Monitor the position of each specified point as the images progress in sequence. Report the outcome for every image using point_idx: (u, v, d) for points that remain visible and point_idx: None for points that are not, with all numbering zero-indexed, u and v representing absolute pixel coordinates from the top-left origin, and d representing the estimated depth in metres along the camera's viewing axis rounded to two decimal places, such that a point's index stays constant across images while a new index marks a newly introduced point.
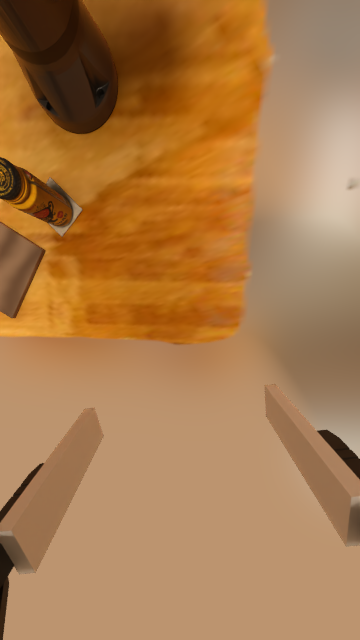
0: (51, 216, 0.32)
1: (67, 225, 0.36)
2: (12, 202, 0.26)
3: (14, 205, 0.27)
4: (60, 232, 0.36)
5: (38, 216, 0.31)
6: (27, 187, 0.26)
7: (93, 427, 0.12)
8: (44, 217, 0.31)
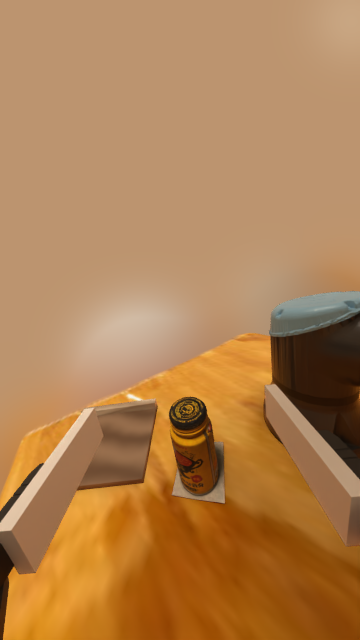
0: (186, 470, 0.23)
1: (190, 492, 0.24)
2: (173, 428, 0.23)
3: (171, 430, 0.24)
4: (176, 489, 0.25)
5: (177, 456, 0.23)
6: (197, 433, 0.21)
7: (93, 427, 0.12)
8: (180, 463, 0.23)
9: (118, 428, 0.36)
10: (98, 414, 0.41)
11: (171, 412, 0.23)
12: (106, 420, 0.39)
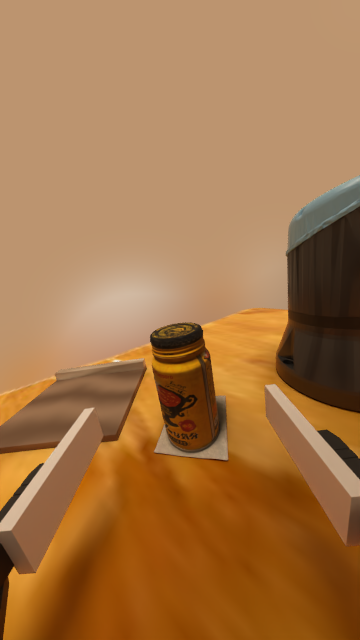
0: (173, 414, 0.16)
1: (180, 449, 0.17)
2: (154, 353, 0.16)
3: (153, 360, 0.17)
4: (160, 446, 0.18)
5: (160, 396, 0.17)
6: (188, 354, 0.15)
7: (93, 427, 0.12)
8: (164, 405, 0.16)
9: (96, 387, 0.29)
10: (75, 376, 0.34)
11: (153, 334, 0.17)
12: (83, 381, 0.32)
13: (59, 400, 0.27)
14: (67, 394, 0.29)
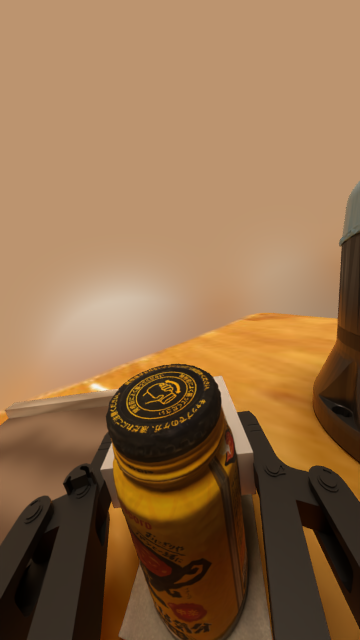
0: (157, 585, 0.07)
1: (172, 633, 0.08)
2: (114, 449, 0.07)
3: None
4: (134, 611, 0.09)
5: None
6: (190, 471, 0.06)
7: None
8: (138, 555, 0.08)
9: (54, 437, 0.20)
10: (33, 412, 0.25)
11: (115, 399, 0.08)
12: (41, 422, 0.23)
13: None
14: (10, 450, 0.20)
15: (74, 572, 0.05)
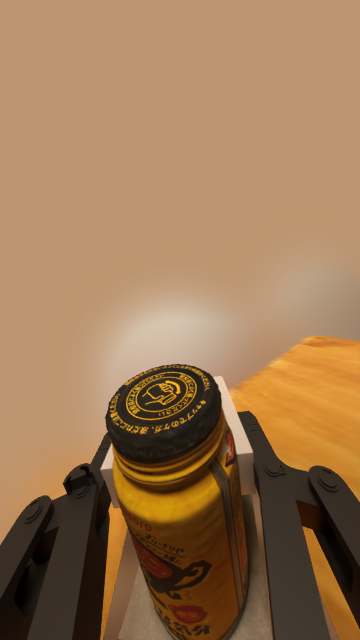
0: (157, 587, 0.07)
1: (172, 635, 0.08)
2: (114, 450, 0.07)
3: None
4: (133, 613, 0.09)
5: None
6: (191, 473, 0.06)
7: None
8: (138, 557, 0.08)
9: None
10: None
11: (114, 400, 0.08)
12: None
13: None
14: None
15: (74, 572, 0.05)
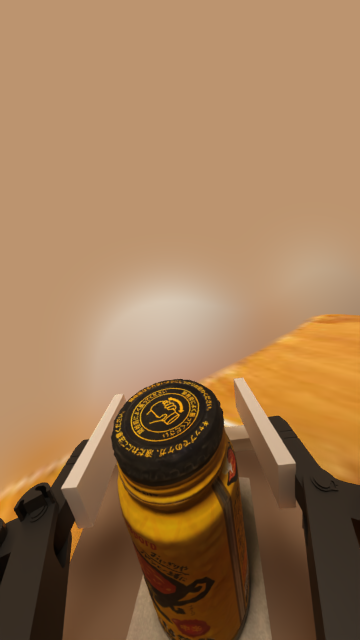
0: (161, 601, 0.07)
1: None
2: (119, 469, 0.07)
3: None
4: (138, 624, 0.09)
5: None
6: (194, 494, 0.06)
7: None
8: (142, 571, 0.08)
9: None
10: None
11: (119, 418, 0.08)
12: None
13: None
14: None
15: (27, 599, 0.05)
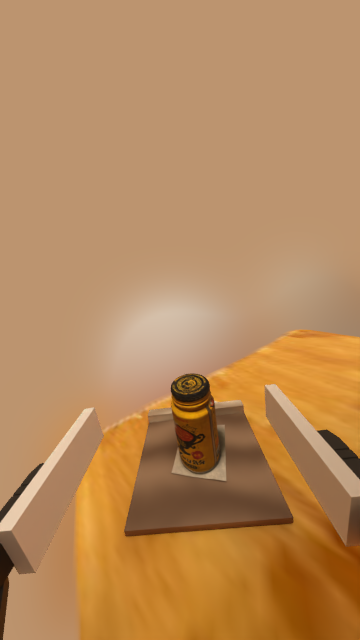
0: (187, 446, 0.22)
1: (191, 471, 0.23)
2: (174, 401, 0.22)
3: (173, 405, 0.23)
4: (175, 467, 0.24)
5: (177, 432, 0.23)
6: (199, 405, 0.21)
7: (93, 427, 0.12)
8: (180, 439, 0.22)
9: None
10: (169, 418, 0.32)
11: (173, 386, 0.23)
12: None
13: None
14: None
15: None
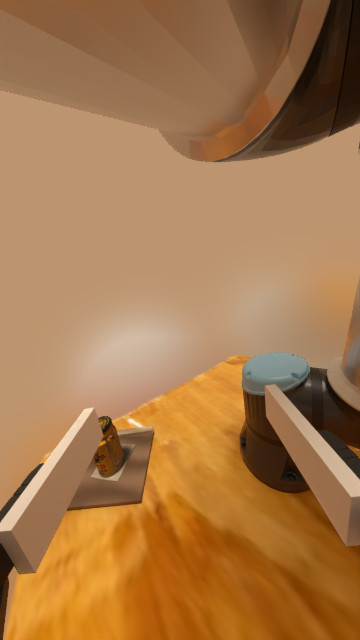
0: (96, 461, 0.38)
1: (101, 475, 0.39)
2: None
3: None
4: (94, 473, 0.40)
5: None
6: None
7: (93, 427, 0.12)
8: (93, 457, 0.38)
9: None
10: None
11: None
12: None
13: None
14: None
15: None
